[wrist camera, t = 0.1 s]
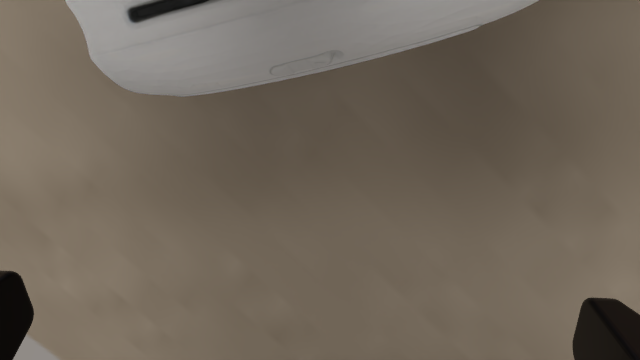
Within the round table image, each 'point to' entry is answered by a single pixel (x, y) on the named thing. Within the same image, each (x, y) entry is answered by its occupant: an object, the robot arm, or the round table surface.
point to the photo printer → (261, 37)
